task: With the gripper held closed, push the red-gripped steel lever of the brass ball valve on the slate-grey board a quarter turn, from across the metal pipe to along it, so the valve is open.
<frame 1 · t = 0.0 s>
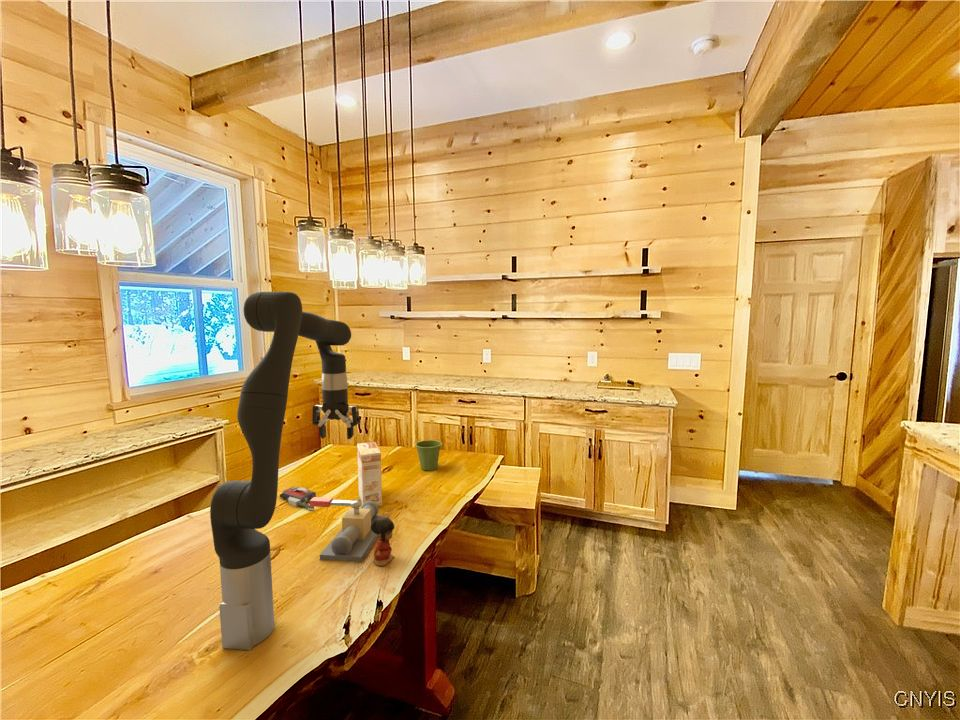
hand: (336, 438, 130), 29 cm above the table, fingers open, 8 cm apart
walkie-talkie: (302, 502, 152), on the table
valve stand: (357, 538, 126), on the table
coffeecake box: (370, 499, 154), on the table
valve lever: (336, 502, 126), point 11 cm above the table, hinge at 0.0°
plant pot: (429, 468, 185), on the table
figurine: (383, 561, 114), on the table
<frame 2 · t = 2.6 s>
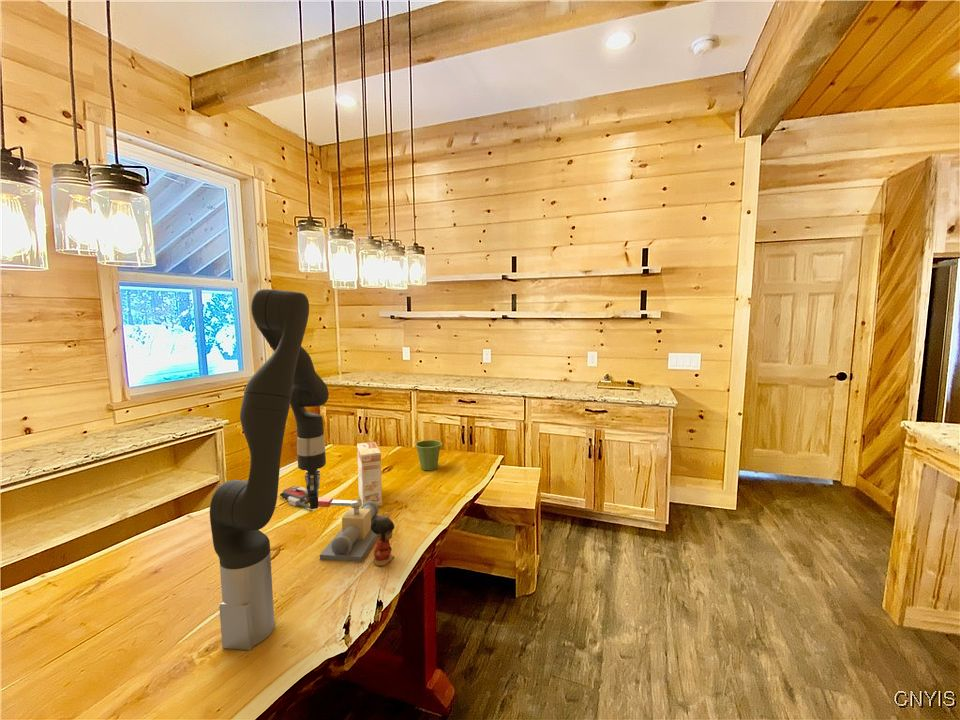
hand: (314, 507, 121), 12 cm above the table, fingers closed
nothing on the table moved.
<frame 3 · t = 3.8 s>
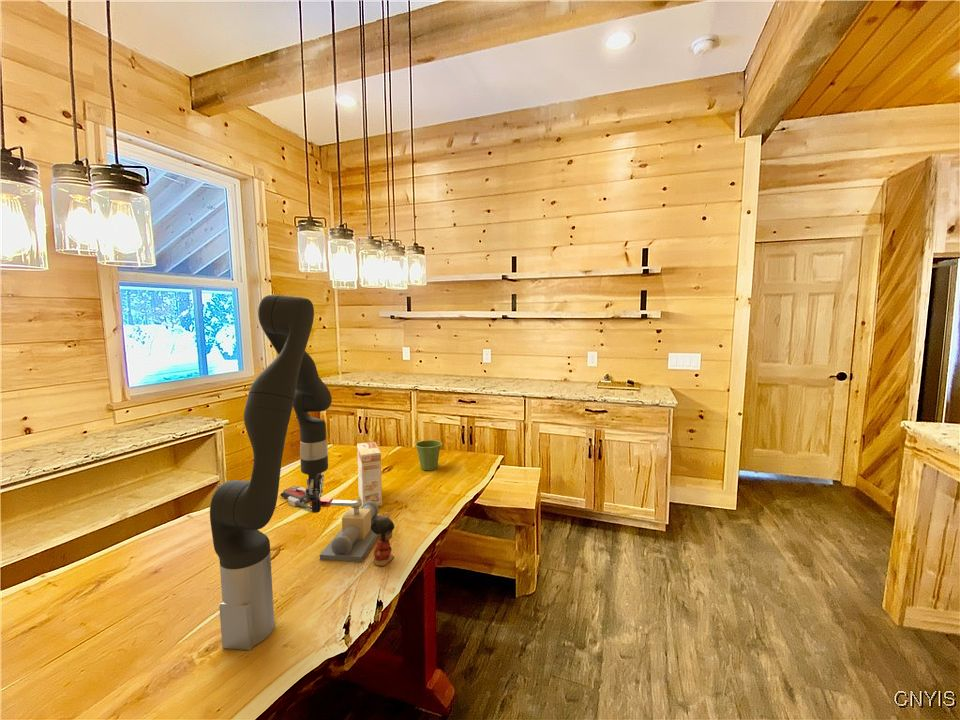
hand: (316, 511, 123), 10 cm above the table, fingers closed
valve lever: (336, 502, 126), point 11 cm above the table, hinge at 0.2°, touching gripper
everything else where it was.
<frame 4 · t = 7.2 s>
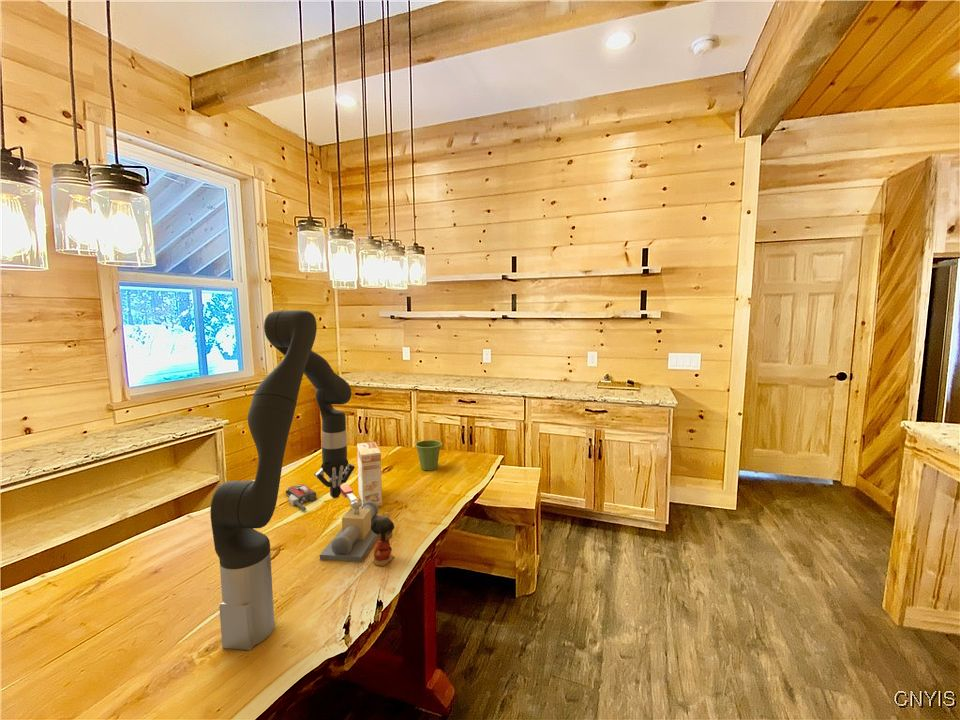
hand: (335, 497, 133), 10 cm above the table, fingers closed
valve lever: (350, 496, 130), point 11 cm above the table, hinge at 51.3°, touching gripper
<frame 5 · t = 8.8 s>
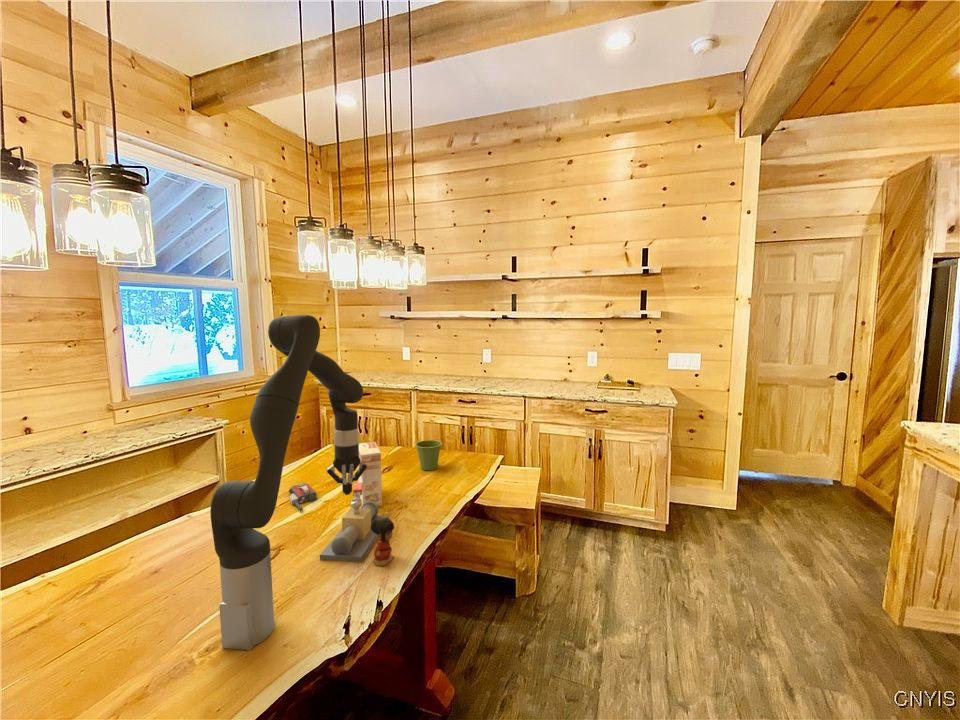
hand: (347, 493, 135), 10 cm above the table, fingers closed
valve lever: (357, 495, 131), point 11 cm above the table, hinge at 70.8°, touching gripper
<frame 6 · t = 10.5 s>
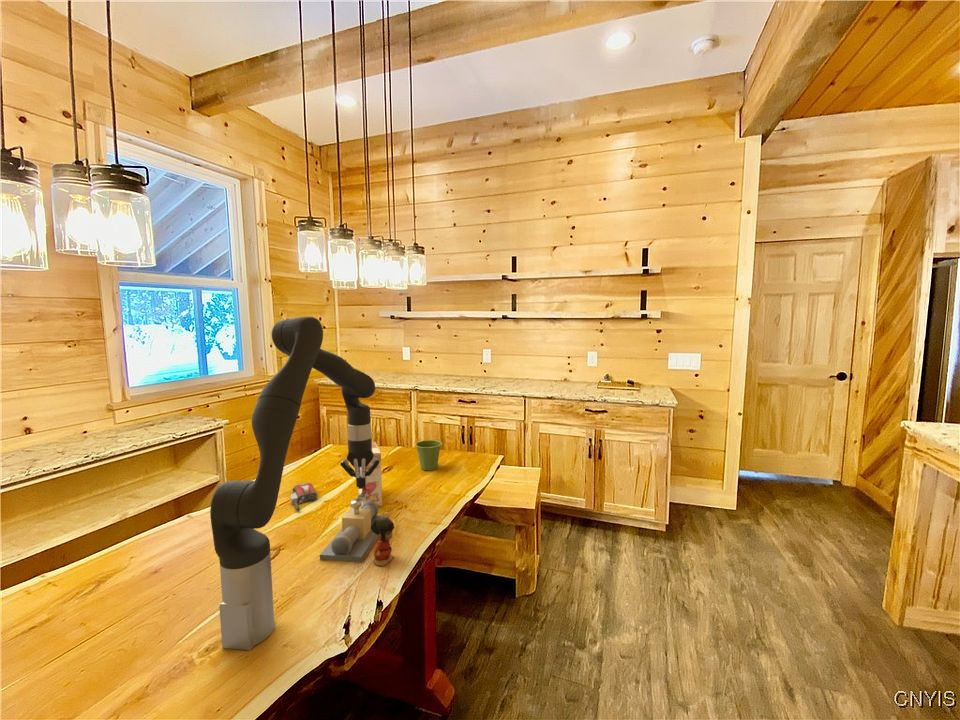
hand: (361, 487, 137), 11 cm above the table, fingers closed
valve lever: (363, 494, 131), point 11 cm above the table, hinge at 89.7°
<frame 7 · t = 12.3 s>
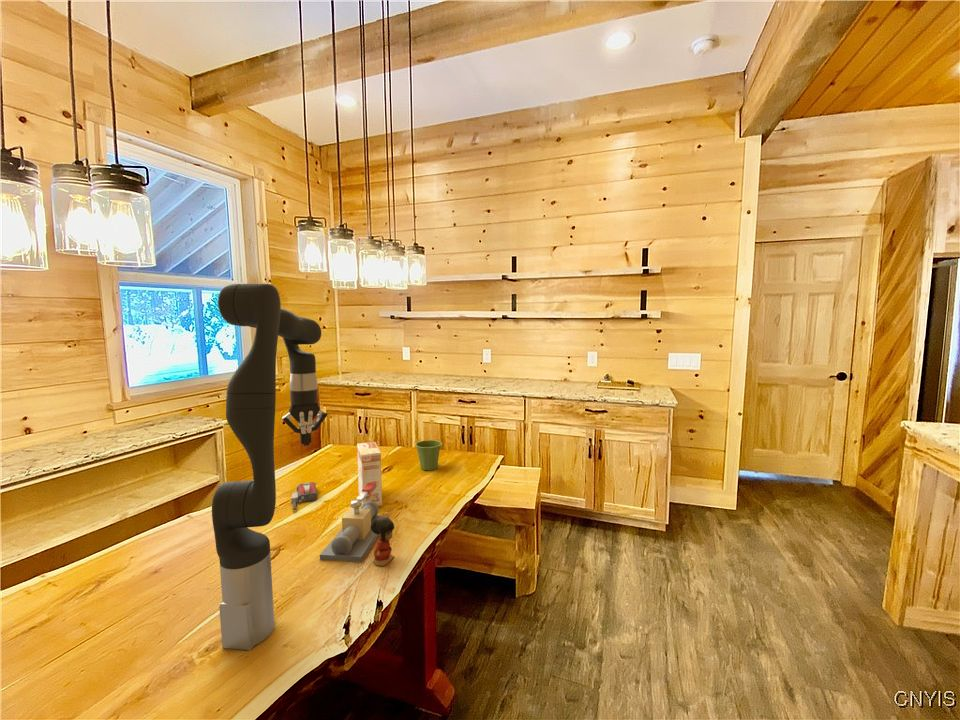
hand: (306, 445, 124), 29 cm above the table, fingers closed
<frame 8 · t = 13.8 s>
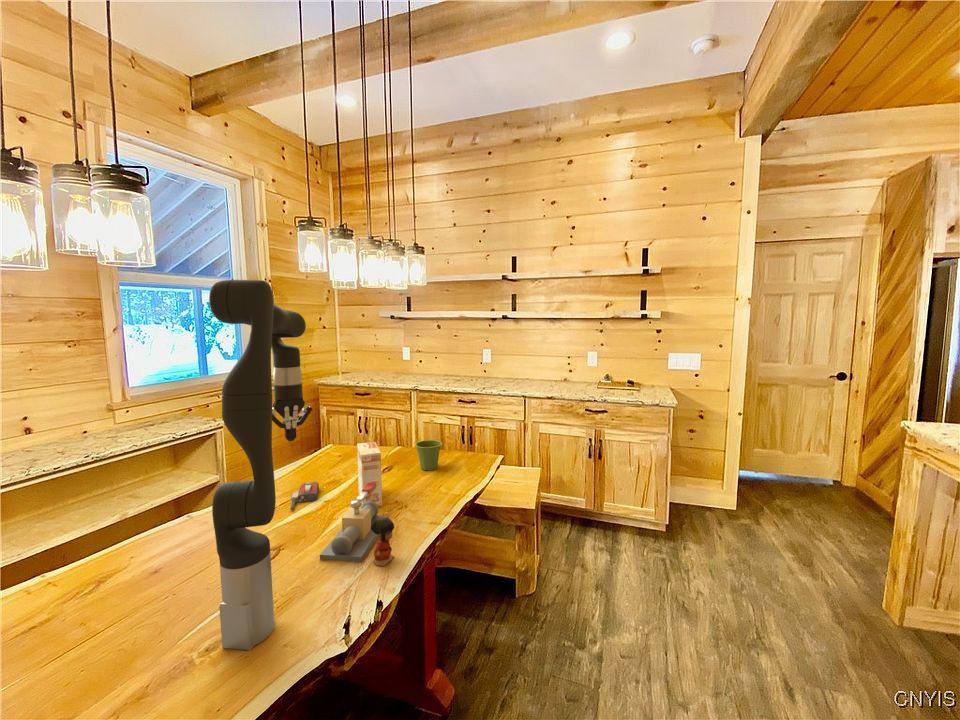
hand: (290, 440, 122), 31 cm above the table, fingers closed
at the end: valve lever at +90° (first picture: +0°); the gripper is holding nothing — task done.
